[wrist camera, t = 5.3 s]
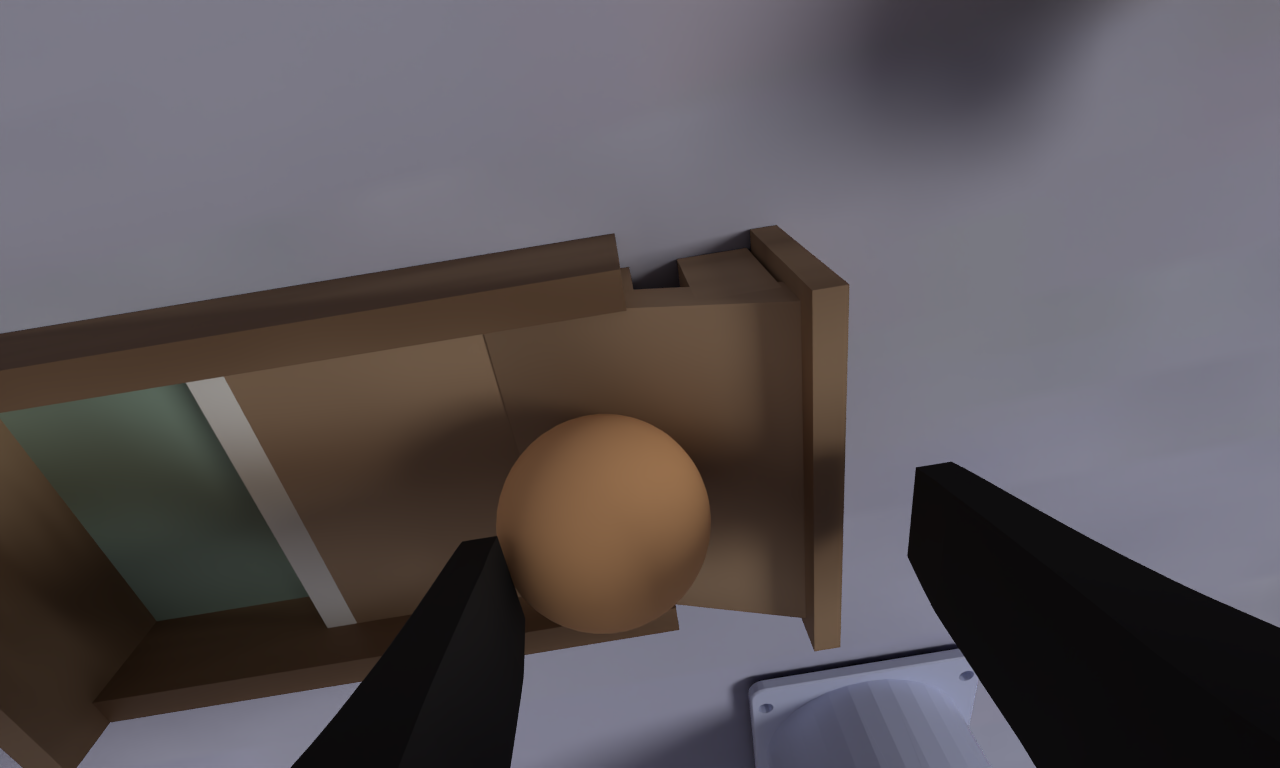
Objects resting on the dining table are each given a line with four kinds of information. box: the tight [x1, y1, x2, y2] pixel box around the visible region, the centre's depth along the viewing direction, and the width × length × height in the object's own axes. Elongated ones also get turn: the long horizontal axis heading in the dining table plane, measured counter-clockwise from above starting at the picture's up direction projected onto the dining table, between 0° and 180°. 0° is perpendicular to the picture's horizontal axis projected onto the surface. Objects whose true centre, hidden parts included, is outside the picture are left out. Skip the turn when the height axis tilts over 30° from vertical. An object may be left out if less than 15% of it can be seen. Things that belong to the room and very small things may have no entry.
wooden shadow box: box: [0, 225, 849, 768], centre depth 13 cm, size 10×19×4 cm, turn 98°
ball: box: [496, 414, 711, 634], centre depth 11 cm, size 4×4×4 cm
